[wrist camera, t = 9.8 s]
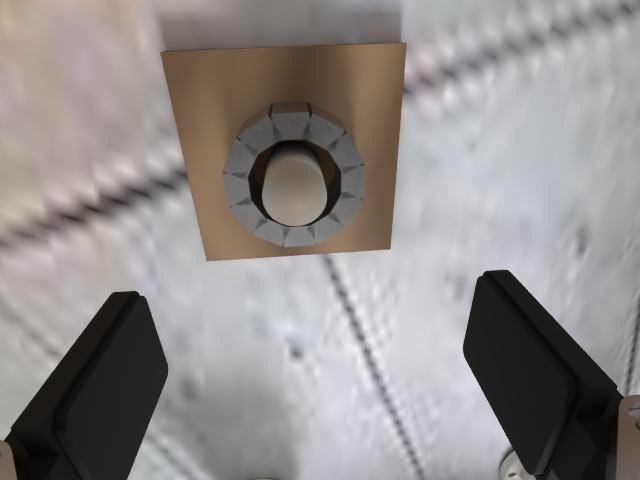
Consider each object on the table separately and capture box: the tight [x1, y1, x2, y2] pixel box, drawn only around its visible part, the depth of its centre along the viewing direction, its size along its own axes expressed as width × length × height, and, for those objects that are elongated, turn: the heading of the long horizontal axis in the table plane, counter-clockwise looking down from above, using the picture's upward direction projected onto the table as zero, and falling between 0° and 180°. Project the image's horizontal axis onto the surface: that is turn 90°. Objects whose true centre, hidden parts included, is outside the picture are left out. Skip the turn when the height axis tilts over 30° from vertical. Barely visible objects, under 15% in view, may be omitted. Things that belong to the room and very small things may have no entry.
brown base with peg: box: [160, 43, 407, 261], centre depth 19 cm, size 12×12×6 cm
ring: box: [222, 101, 365, 247], centre depth 19 cm, size 7×7×3 cm
